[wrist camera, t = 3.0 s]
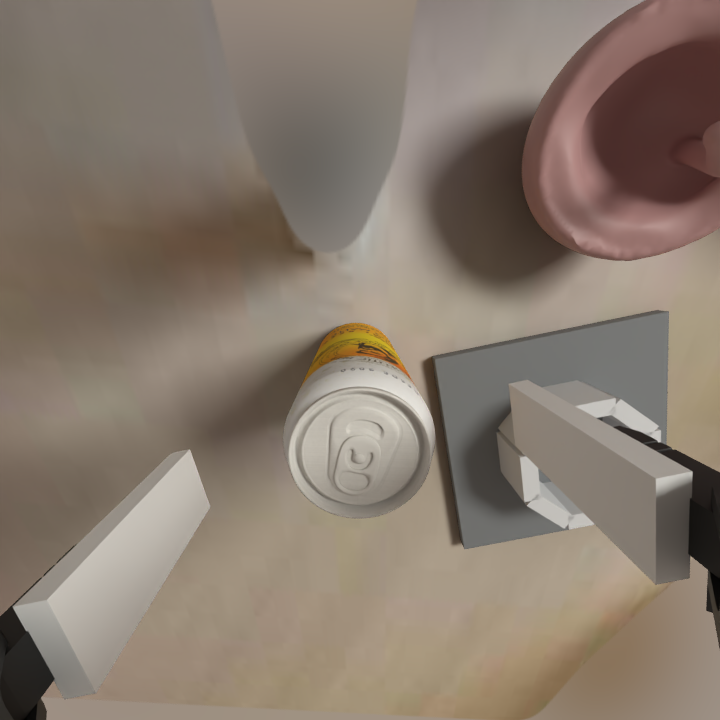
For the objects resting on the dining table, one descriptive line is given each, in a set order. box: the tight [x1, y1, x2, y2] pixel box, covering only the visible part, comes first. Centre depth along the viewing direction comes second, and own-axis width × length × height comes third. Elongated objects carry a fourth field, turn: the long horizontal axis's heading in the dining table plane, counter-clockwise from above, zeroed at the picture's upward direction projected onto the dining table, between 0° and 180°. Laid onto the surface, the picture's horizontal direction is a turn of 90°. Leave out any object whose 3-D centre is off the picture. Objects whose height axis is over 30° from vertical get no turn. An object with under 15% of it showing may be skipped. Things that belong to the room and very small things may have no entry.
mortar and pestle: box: [522, 0, 720, 261], centre depth 18 cm, size 12×12×11 cm
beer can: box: [283, 323, 435, 518], centre depth 20 cm, size 6×6×15 cm
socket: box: [432, 310, 669, 549], centre depth 26 cm, size 18×18×5 cm
